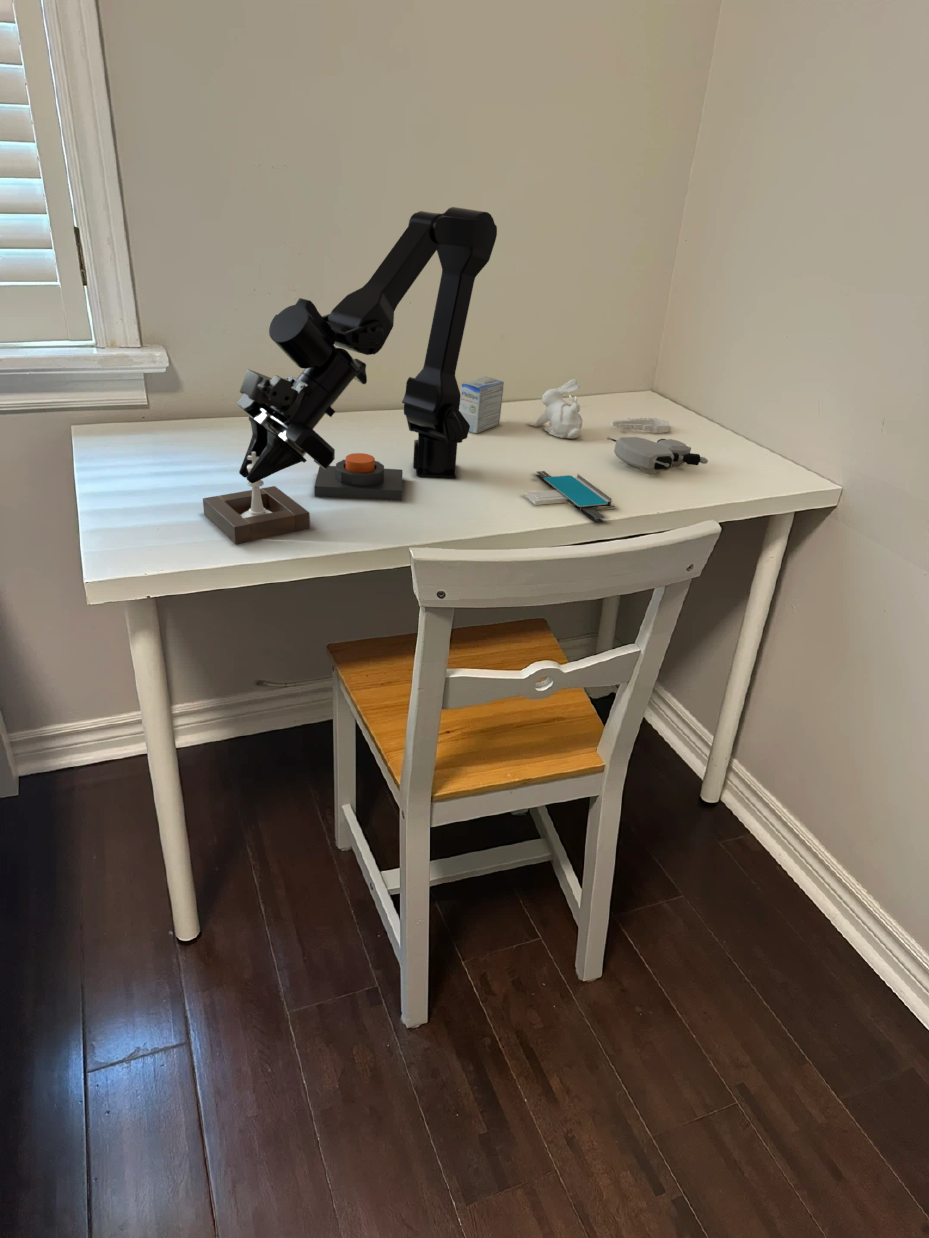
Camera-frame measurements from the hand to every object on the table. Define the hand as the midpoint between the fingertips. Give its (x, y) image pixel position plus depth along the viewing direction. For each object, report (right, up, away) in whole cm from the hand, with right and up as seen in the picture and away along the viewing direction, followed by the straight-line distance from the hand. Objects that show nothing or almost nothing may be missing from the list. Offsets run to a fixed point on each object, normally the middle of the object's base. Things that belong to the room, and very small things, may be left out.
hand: (245, 478), depth 115 cm
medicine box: (+32, +18, +49) cm, 61 cm away
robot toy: (+63, +8, +37) cm, 73 cm away
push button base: (+13, +1, +18) cm, 22 cm away
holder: (+1, -5, +4) cm, 7 cm away
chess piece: (+1, -5, +4) cm, 7 cm away
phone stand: (+45, 0, +21) cm, 49 cm away
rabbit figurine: (+48, +17, +50) cm, 72 cm away
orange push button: (+13, +4, +16) cm, 21 cm away
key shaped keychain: (+65, +18, +55) cm, 87 cm away
